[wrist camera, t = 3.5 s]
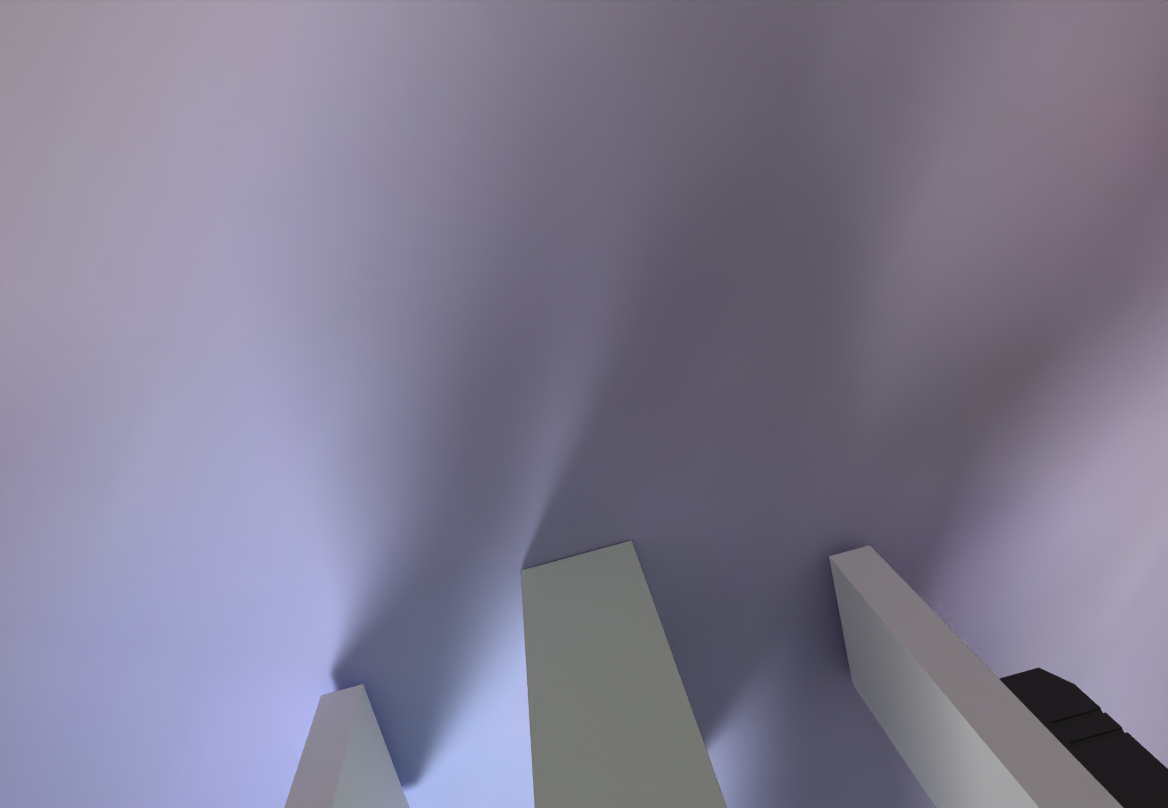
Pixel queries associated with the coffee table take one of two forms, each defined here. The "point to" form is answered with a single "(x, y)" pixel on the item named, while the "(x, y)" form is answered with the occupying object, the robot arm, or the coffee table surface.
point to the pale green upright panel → (607, 691)
